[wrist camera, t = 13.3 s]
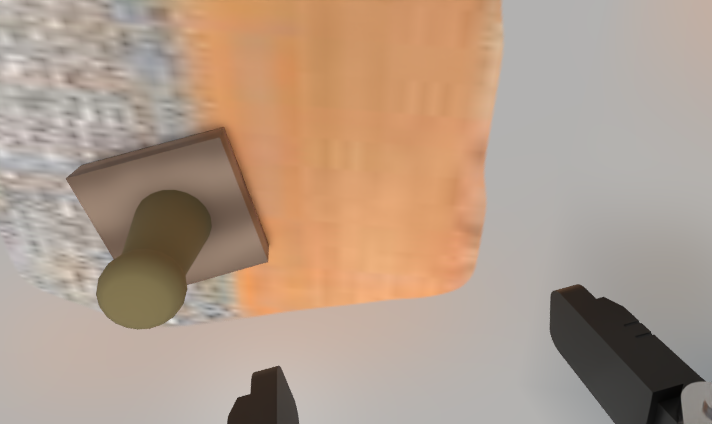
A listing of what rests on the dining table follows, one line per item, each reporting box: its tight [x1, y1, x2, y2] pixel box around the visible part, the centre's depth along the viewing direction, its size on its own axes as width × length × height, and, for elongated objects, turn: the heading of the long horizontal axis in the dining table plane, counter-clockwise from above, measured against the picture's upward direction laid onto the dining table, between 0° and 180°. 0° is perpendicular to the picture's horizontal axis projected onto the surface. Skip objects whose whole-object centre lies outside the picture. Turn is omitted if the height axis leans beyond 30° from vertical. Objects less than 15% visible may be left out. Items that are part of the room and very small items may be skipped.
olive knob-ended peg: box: [96, 190, 212, 329], centre depth 31 cm, size 6×6×11 cm
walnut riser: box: [66, 127, 269, 285], centre depth 37 cm, size 12×12×3 cm
